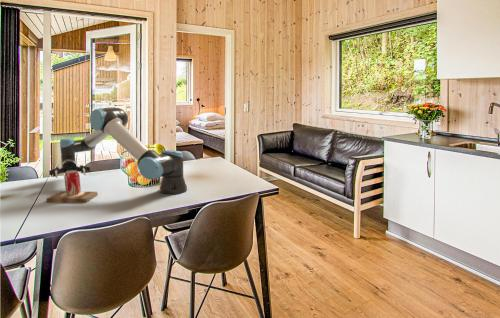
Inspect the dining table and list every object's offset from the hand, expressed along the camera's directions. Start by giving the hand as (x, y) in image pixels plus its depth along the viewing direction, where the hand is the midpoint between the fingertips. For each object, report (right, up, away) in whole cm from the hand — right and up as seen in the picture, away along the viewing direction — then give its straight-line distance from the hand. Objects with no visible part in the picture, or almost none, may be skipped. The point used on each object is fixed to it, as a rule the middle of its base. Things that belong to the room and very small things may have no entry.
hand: (70, 174), depth 188 cm
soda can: (+5, -10, -6) cm, 13 cm away
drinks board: (+5, -13, -6) cm, 15 cm away
